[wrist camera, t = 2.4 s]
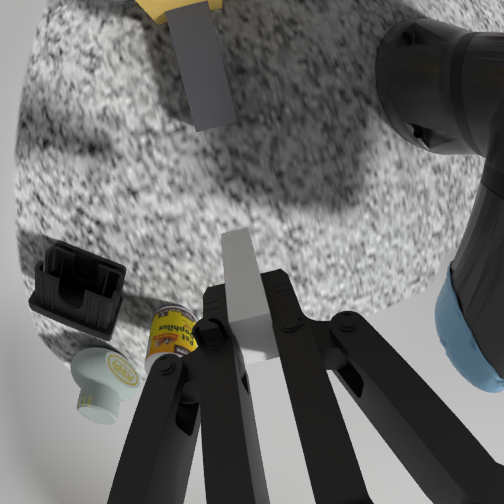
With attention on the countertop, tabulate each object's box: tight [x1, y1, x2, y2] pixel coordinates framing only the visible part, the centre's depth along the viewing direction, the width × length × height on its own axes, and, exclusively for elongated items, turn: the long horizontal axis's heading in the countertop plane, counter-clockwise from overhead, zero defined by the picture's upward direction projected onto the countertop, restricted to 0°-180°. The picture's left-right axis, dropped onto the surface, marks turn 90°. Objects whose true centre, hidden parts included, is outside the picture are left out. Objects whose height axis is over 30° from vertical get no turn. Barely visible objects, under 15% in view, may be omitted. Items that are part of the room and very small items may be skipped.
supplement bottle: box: [145, 306, 197, 375], centre depth 29 cm, size 6×6×10 cm
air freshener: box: [71, 347, 140, 425], centre depth 33 cm, size 11×8×10 cm
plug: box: [135, 0, 237, 132], centre depth 15 cm, size 6×14×8 cm, turn 12°
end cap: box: [28, 241, 126, 341], centre depth 26 cm, size 10×7×7 cm
